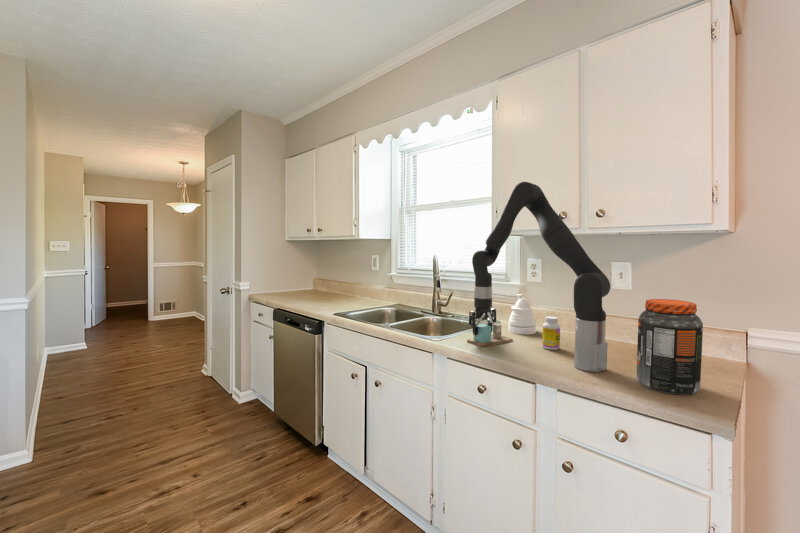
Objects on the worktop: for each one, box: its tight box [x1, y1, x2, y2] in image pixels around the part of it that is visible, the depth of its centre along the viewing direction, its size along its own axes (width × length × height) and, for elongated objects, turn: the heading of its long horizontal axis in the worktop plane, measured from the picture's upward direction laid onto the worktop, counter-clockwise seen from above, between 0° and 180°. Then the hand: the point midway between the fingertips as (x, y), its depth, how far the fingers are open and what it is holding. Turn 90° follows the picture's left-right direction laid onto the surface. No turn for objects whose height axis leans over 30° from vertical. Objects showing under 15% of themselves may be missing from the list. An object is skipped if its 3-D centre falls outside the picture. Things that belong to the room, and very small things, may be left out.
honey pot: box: [507, 293, 537, 335], centre depth 181 cm, size 13×13×18 cm
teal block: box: [473, 323, 492, 343], centre depth 160 cm, size 5×5×7 cm
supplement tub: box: [636, 298, 704, 396], centre depth 111 cm, size 16×16×26 cm
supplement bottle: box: [541, 315, 561, 351], centre depth 152 cm, size 7×7×13 cm
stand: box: [466, 323, 514, 348], centre depth 162 cm, size 10×18×7 cm, turn 123°
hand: (482, 333), depth 160 cm, fingers open, 8 cm apart
